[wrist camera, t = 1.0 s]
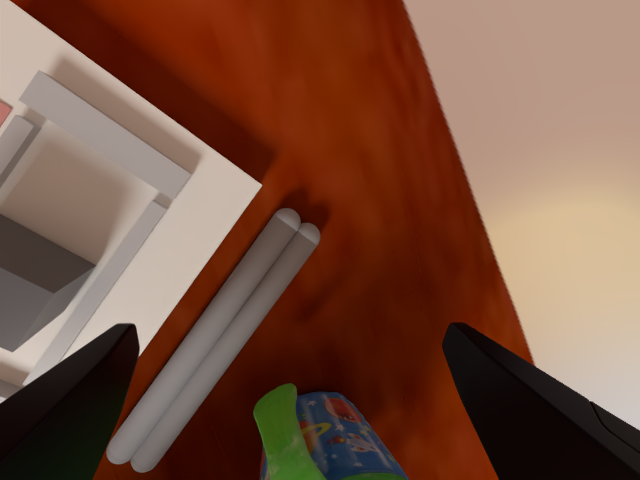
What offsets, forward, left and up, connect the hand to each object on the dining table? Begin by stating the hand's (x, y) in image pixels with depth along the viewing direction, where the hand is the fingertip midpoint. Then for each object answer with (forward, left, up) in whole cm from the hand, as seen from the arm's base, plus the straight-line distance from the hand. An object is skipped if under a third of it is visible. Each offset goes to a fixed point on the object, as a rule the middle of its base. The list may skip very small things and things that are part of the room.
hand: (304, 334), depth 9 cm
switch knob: (-7, +10, -10) cm, 16 cm away
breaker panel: (-7, +10, -12) cm, 17 cm away
